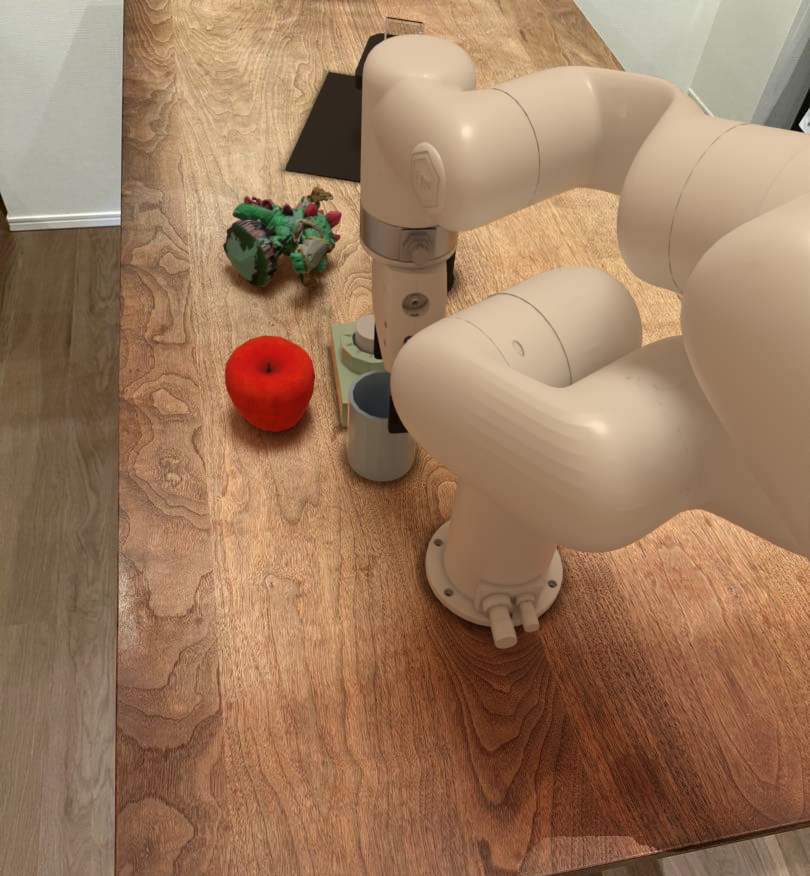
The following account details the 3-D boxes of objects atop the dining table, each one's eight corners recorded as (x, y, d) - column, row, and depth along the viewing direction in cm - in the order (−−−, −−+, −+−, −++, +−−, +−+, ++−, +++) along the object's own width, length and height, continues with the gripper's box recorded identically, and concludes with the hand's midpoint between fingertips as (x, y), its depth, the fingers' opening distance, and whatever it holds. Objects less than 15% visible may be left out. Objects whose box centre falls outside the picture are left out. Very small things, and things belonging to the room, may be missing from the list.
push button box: (418, 423, 91) (423, 384, 87) (341, 427, 90) (342, 388, 86) (401, 346, 98) (405, 306, 94) (330, 348, 97) (331, 309, 93)
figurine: (298, 295, 94) (392, 236, 101) (230, 189, 91) (331, 136, 98) (256, 328, 105) (344, 273, 112) (193, 235, 102) (288, 184, 109)
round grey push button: (395, 354, 90) (397, 338, 88) (357, 356, 89) (357, 340, 87) (390, 328, 92) (391, 313, 90) (352, 330, 91) (353, 314, 90)
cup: (418, 479, 87) (426, 419, 80) (350, 483, 86) (352, 422, 79) (409, 429, 91) (416, 368, 84) (343, 432, 90) (345, 370, 83)
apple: (220, 395, 91) (212, 336, 85) (301, 379, 94) (299, 321, 87) (241, 456, 87) (235, 399, 80) (326, 437, 89) (326, 381, 83)
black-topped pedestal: (478, 201, 116) (493, 101, 106) (284, 170, 117) (281, 68, 106) (497, 99, 133) (513, 4, 122) (328, 72, 134) (329, -25, 123)
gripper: (481, 291, 61) (455, 459, 75) (438, 161, 71) (423, 329, 85) (374, 296, 60) (368, 465, 74) (347, 163, 70) (346, 333, 84)
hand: (397, 392), depth 79 cm, fingers open, 9 cm apart
